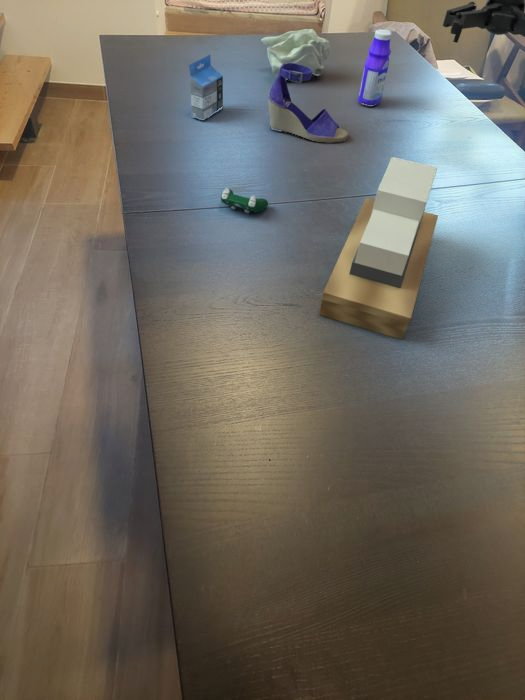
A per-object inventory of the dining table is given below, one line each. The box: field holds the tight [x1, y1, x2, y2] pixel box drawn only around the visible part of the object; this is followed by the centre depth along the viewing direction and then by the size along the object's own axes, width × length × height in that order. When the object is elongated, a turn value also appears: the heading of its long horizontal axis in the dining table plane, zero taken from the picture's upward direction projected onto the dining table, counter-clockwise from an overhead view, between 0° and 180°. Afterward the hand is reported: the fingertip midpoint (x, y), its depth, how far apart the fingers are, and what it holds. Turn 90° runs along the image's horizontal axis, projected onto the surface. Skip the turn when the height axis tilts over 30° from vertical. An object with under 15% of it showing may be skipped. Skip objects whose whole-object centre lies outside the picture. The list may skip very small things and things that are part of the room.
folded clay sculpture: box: [260, 28, 332, 79], centre depth 144 cm, size 18×13×16 cm
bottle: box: [357, 28, 393, 105], centre depth 133 cm, size 7×6×17 cm
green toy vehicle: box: [220, 187, 269, 214], centre depth 101 cm, size 9×4×6 cm
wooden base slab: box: [318, 196, 439, 341], centre depth 90 cm, size 14×30×5 cm, turn 159°
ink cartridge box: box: [188, 54, 224, 119], centre depth 125 cm, size 9×4×12 cm, turn 150°
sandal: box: [268, 63, 349, 144], centre depth 120 cm, size 8×20×15 cm, turn 71°
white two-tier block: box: [349, 156, 438, 288], centre depth 86 cm, size 8×22×10 cm, turn 159°
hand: (497, 41), depth 88 cm, fingers open, 13 cm apart
